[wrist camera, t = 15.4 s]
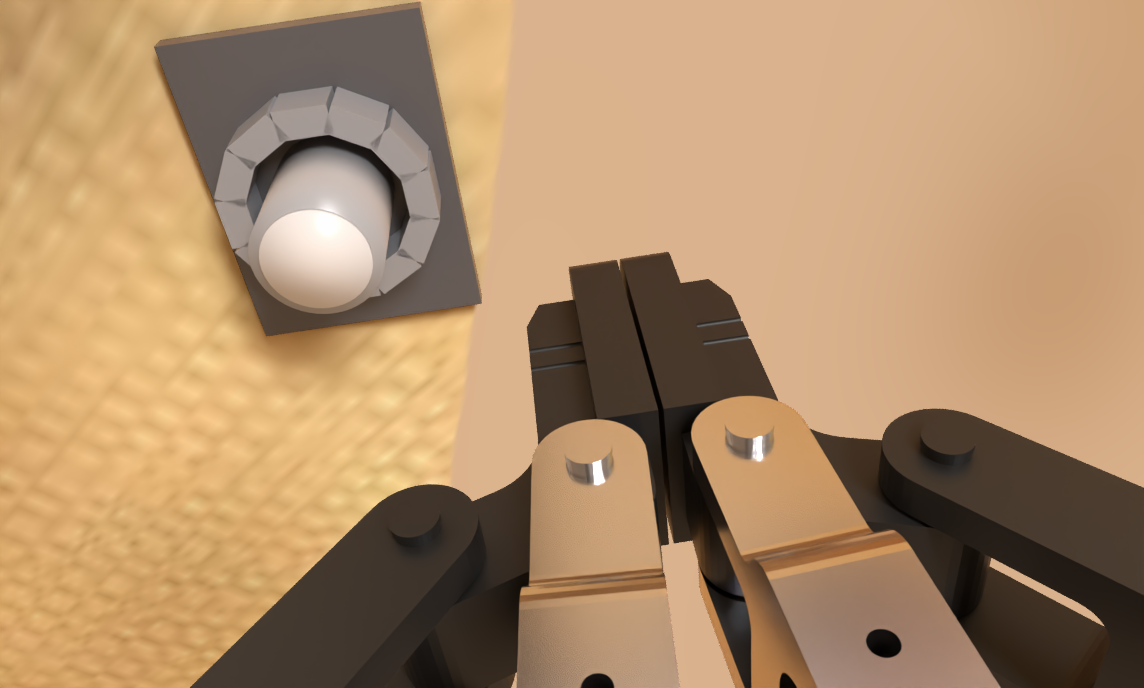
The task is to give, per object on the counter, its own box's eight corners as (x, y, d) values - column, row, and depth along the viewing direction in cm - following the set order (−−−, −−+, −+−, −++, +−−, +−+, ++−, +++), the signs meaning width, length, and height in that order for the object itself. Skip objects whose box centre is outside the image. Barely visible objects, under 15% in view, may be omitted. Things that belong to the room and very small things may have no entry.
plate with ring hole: (160, 40, 41) (138, 64, 38) (420, 1, 41) (417, 22, 39) (269, 326, 50) (258, 361, 48) (481, 293, 51) (482, 327, 48)
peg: (260, 143, 43) (227, 212, 37) (379, 125, 43) (365, 191, 38) (295, 248, 47) (270, 326, 41) (406, 231, 47) (397, 307, 41)
